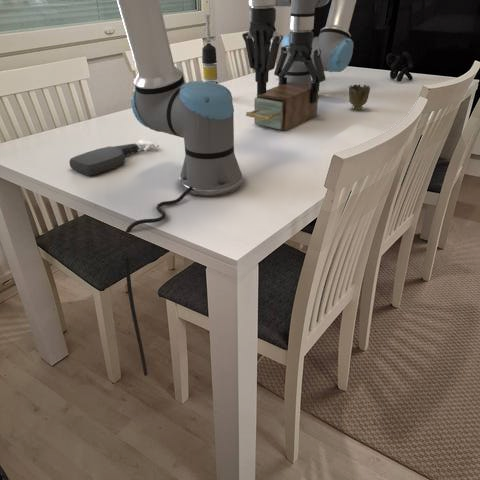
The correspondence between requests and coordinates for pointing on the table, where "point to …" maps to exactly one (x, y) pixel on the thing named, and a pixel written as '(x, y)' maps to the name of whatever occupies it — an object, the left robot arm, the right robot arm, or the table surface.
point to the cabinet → (293, 102)
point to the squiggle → (399, 66)
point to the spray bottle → (106, 157)
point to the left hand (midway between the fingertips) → (261, 93)
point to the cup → (358, 96)
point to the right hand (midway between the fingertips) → (297, 99)
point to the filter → (209, 57)
